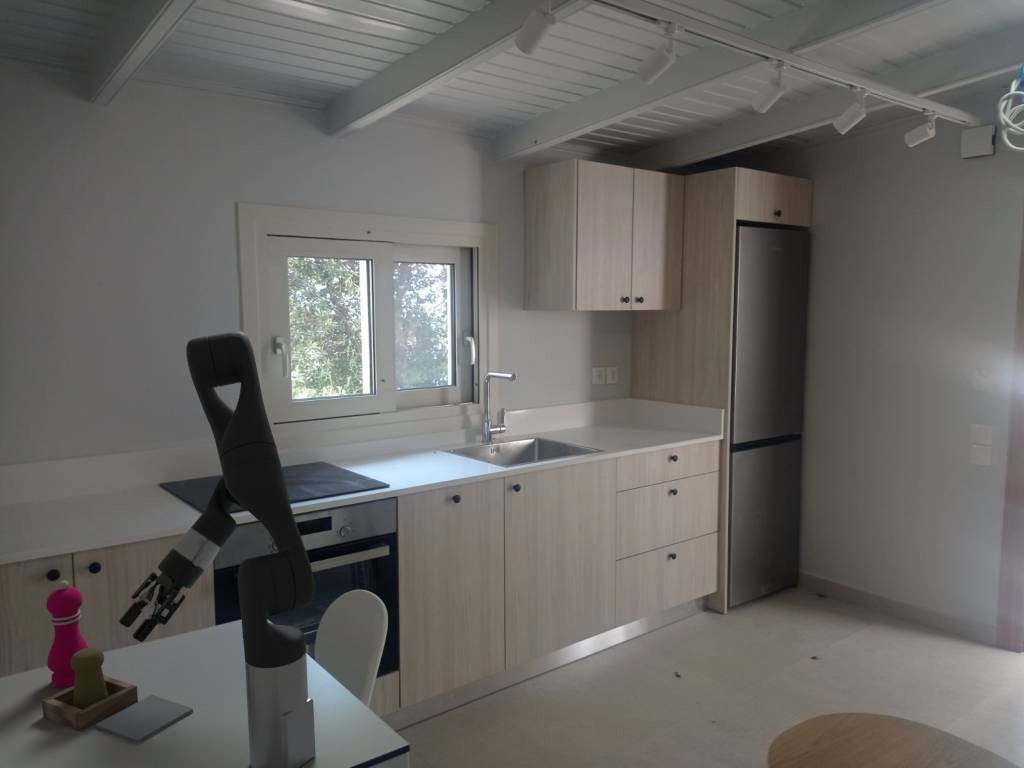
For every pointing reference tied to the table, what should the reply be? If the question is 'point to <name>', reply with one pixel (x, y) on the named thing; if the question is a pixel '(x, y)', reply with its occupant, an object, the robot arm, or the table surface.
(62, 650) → the pepper mill
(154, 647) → the table surface
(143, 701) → the rubber mat
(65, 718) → the walnut collar
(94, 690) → the cork
